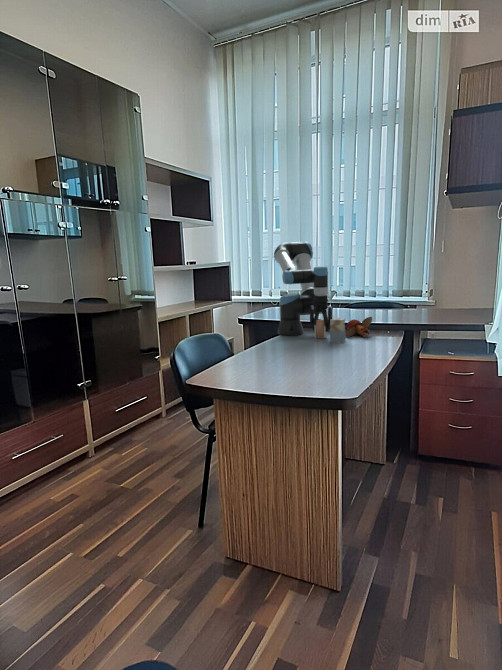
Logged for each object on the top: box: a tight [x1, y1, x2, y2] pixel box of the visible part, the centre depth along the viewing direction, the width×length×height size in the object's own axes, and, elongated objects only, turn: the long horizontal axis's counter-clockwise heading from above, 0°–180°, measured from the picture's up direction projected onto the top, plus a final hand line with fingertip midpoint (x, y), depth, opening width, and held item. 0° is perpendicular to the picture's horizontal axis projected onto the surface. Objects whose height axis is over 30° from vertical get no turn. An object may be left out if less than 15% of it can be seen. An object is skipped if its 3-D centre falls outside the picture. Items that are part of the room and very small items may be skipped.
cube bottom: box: [329, 329, 347, 344], centre depth 213 cm, size 6×6×6 cm
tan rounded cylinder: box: [315, 318, 325, 339], centre depth 223 cm, size 5×5×10 cm
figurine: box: [345, 316, 373, 338], centre depth 226 cm, size 20×9×15 cm
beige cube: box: [329, 317, 346, 332], centre depth 212 cm, size 6×6×6 cm
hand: (321, 336), depth 224 cm, fingers closed on tan rounded cylinder, 5 cm apart
